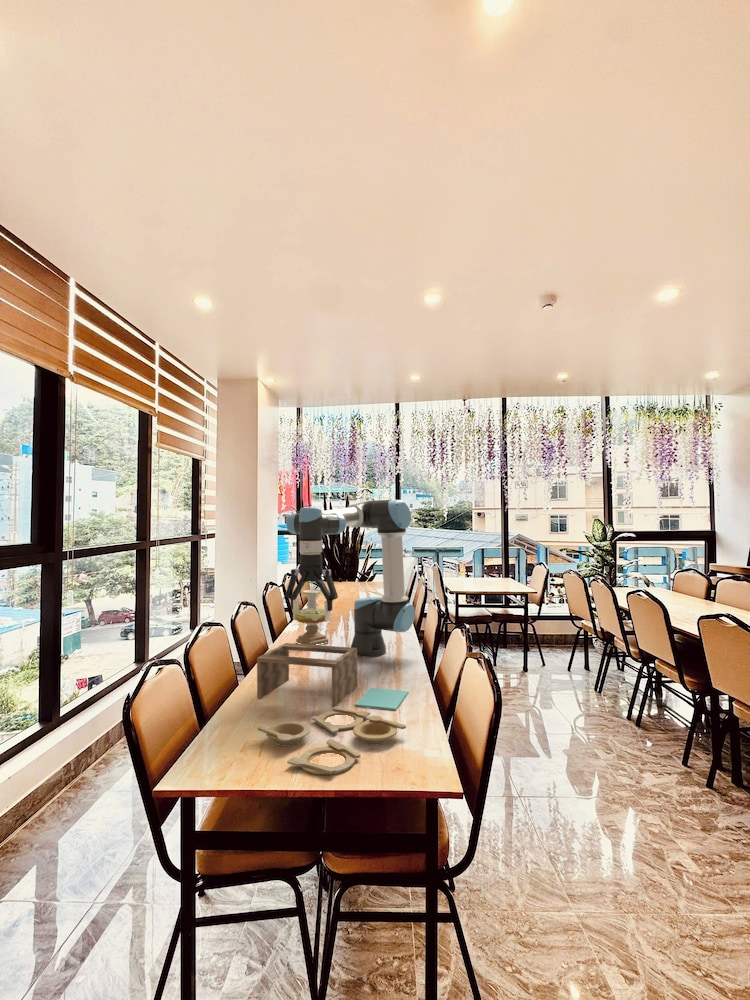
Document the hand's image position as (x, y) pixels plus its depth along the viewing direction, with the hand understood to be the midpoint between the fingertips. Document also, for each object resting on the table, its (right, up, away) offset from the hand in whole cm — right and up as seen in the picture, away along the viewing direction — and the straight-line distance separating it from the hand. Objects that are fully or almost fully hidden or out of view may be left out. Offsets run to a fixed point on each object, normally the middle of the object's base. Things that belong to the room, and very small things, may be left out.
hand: (311, 620), depth 173 cm
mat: (+24, -23, -8) cm, 34 cm away
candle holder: (-8, -26, +67) cm, 72 cm away
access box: (-1, -24, 0) cm, 24 cm away
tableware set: (+10, -23, -37) cm, 45 cm away
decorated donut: (0, -1, 0) cm, 1 cm away
